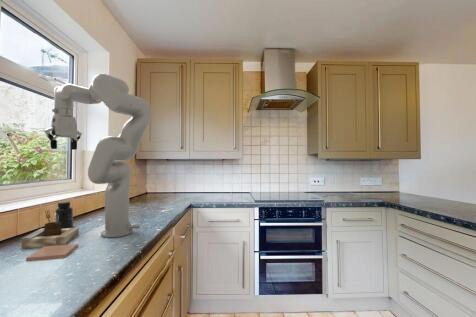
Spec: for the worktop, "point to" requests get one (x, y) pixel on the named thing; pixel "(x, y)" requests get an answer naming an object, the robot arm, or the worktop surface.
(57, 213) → the supplement bottle
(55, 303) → the worktop surface
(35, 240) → the wooden tray
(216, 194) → the worktop surface
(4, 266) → the worktop surface
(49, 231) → the utensil holder
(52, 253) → the terracotta tile
